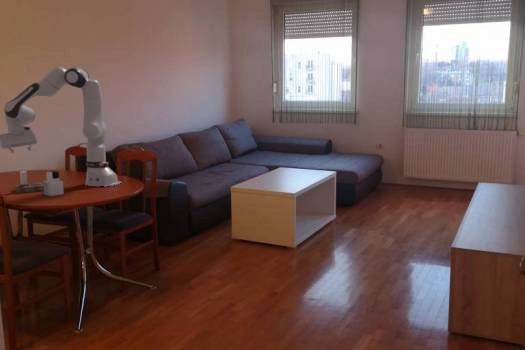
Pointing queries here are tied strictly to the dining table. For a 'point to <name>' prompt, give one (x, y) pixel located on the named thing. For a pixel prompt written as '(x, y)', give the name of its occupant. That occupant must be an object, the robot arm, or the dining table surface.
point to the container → (53, 184)
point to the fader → (23, 178)
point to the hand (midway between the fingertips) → (21, 151)
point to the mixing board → (30, 188)
